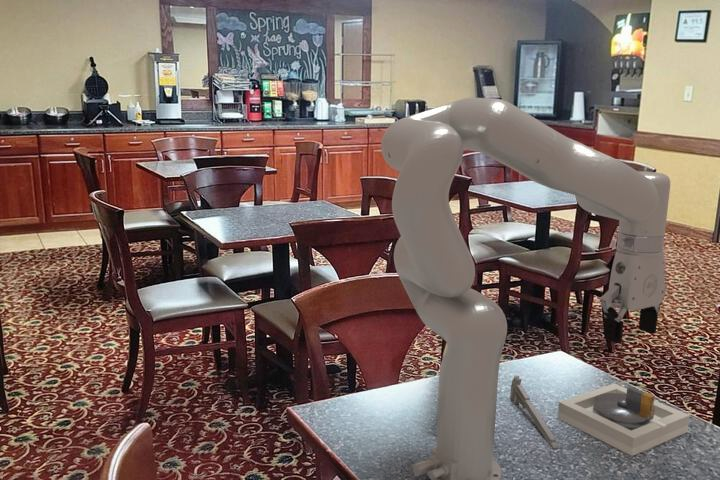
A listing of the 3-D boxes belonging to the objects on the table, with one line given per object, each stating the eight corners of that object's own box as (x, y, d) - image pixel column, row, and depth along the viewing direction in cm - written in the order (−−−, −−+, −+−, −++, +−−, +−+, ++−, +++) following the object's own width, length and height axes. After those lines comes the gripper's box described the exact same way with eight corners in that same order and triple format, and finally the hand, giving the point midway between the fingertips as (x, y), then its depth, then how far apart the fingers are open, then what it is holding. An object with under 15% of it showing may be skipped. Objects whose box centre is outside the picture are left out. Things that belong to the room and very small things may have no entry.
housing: (633, 457, 123) (636, 437, 122) (557, 418, 137) (559, 400, 136) (690, 432, 132) (693, 413, 132) (613, 398, 147) (615, 381, 146)
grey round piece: (580, 412, 136) (583, 381, 135) (616, 399, 142) (619, 369, 140) (630, 436, 127) (633, 403, 125) (666, 422, 133) (670, 390, 131)
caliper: (509, 401, 145) (511, 373, 144) (514, 400, 145) (516, 372, 144) (553, 450, 126) (555, 418, 124) (558, 449, 126) (561, 417, 124)
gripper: (627, 252, 113) (616, 351, 117) (689, 242, 122) (677, 334, 126) (589, 244, 119) (581, 338, 123) (651, 234, 128) (641, 322, 132)
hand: (630, 336), depth 124 cm, fingers open, 9 cm apart
